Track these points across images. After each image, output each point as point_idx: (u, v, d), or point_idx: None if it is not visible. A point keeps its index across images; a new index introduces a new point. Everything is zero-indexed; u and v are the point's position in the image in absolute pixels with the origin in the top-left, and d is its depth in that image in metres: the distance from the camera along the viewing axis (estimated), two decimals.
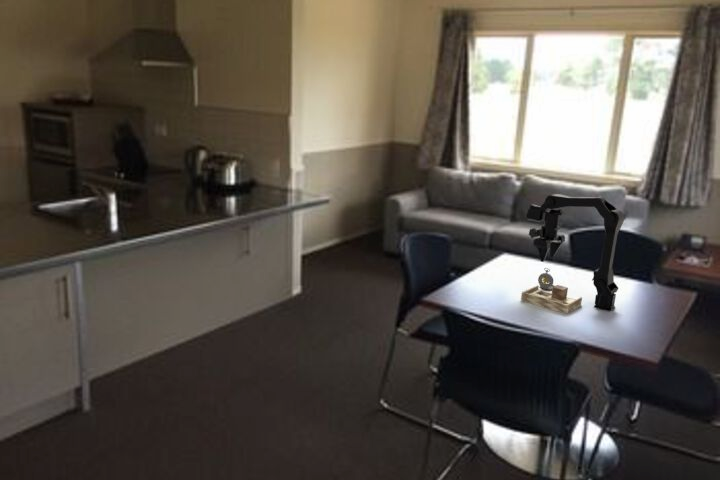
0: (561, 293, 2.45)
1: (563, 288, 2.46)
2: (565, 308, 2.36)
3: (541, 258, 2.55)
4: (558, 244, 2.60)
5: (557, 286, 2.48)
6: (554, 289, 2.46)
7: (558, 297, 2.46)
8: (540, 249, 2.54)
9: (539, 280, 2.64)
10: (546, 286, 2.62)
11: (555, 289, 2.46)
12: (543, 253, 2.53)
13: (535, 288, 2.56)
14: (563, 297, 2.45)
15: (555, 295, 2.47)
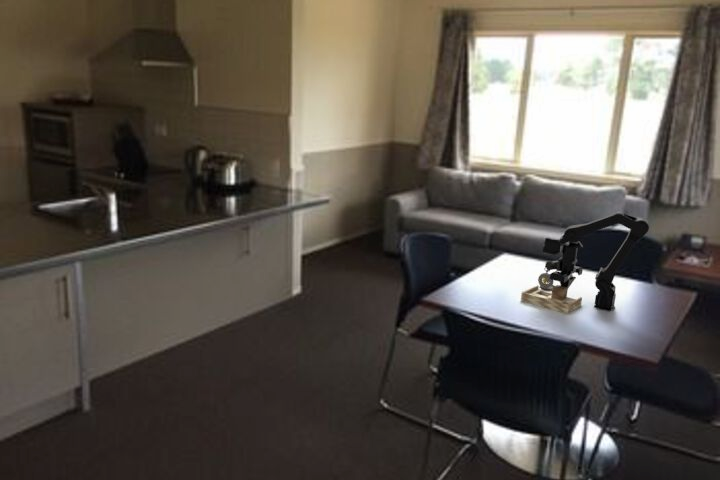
0: (561, 293, 2.45)
1: (563, 288, 2.46)
2: (565, 308, 2.36)
3: None
4: None
5: (557, 286, 2.48)
6: (554, 289, 2.46)
7: (558, 297, 2.46)
8: None
9: (539, 280, 2.64)
10: (546, 286, 2.62)
11: (555, 289, 2.46)
12: (565, 285, 2.48)
13: (535, 288, 2.56)
14: (562, 297, 2.45)
15: (555, 295, 2.47)
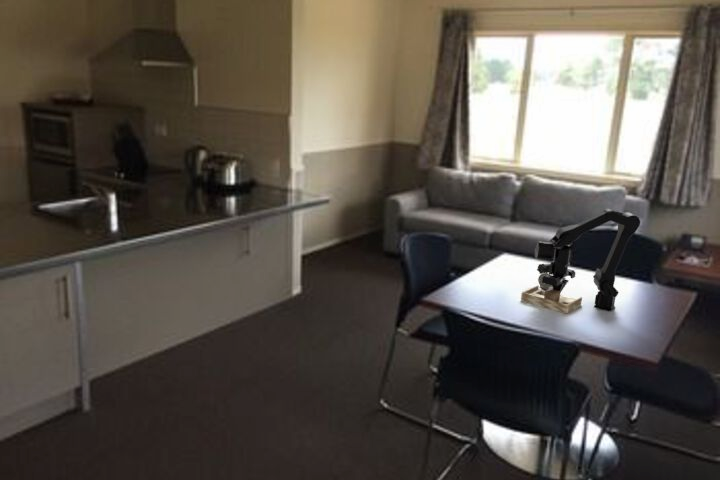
0: (553, 297, 2.39)
1: (555, 292, 2.41)
2: (565, 308, 2.36)
3: None
4: (563, 282, 2.43)
5: (549, 290, 2.43)
6: (546, 293, 2.41)
7: None
8: None
9: (539, 280, 2.64)
10: (546, 286, 2.62)
11: (547, 293, 2.41)
12: (557, 288, 2.43)
13: (535, 288, 2.56)
14: None
15: None
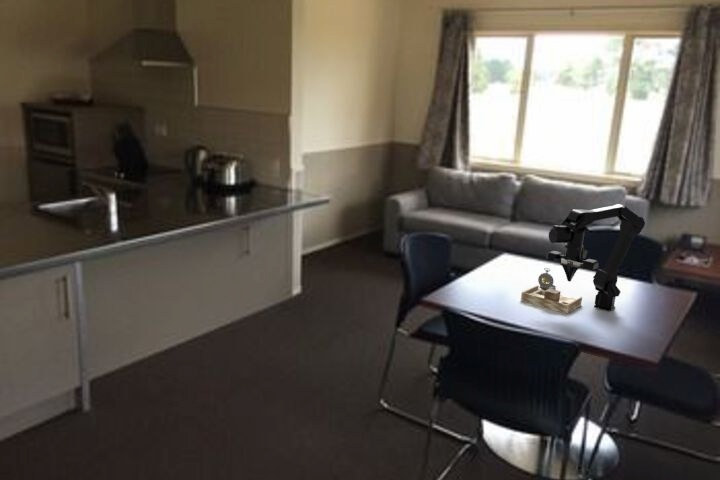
0: (553, 297, 2.39)
1: (555, 292, 2.41)
2: (565, 308, 2.36)
3: None
4: None
5: (549, 290, 2.43)
6: (546, 293, 2.41)
7: None
8: None
9: (539, 280, 2.64)
10: (546, 286, 2.62)
11: (547, 293, 2.41)
12: None
13: (535, 288, 2.56)
14: None
15: None
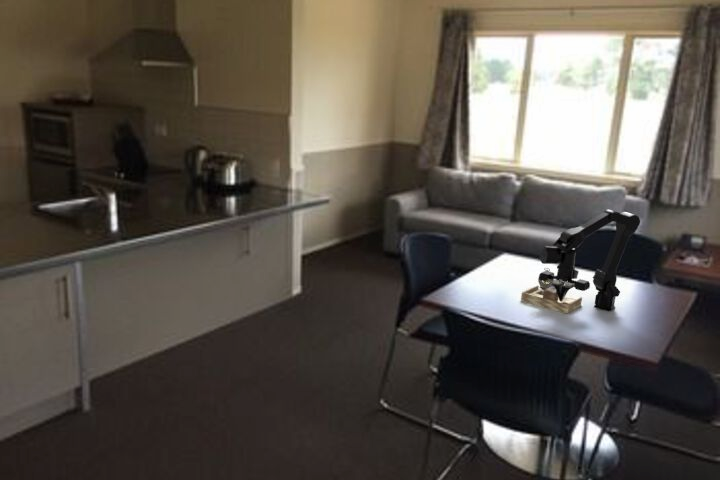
0: (552, 296, 2.40)
1: (554, 291, 2.41)
2: (565, 308, 2.36)
3: None
4: None
5: (548, 289, 2.43)
6: (545, 292, 2.42)
7: None
8: None
9: (539, 280, 2.64)
10: (546, 286, 2.62)
11: (546, 292, 2.41)
12: None
13: (535, 288, 2.56)
14: None
15: None
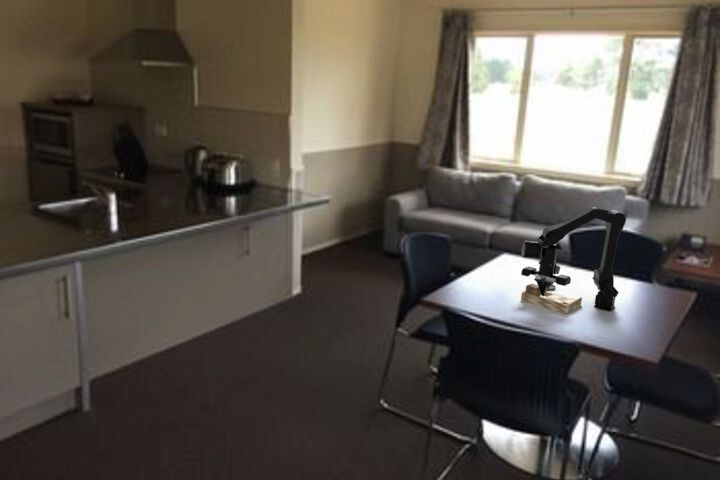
0: (534, 291, 2.45)
1: (536, 286, 2.46)
2: (565, 308, 2.36)
3: None
4: None
5: (531, 284, 2.48)
6: (527, 287, 2.46)
7: None
8: None
9: None
10: None
11: (528, 287, 2.46)
12: None
13: None
14: None
15: None
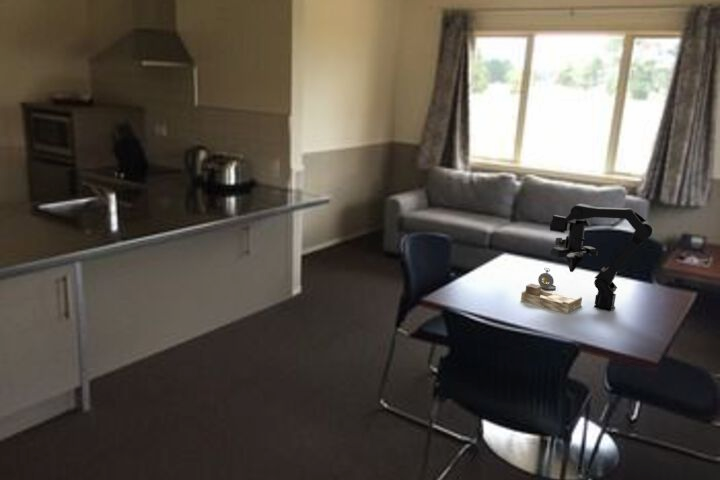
0: (534, 291, 2.45)
1: (536, 286, 2.46)
2: (565, 308, 2.36)
3: (569, 268, 2.50)
4: (577, 258, 2.47)
5: (531, 284, 2.48)
6: (527, 287, 2.46)
7: None
8: (568, 258, 2.49)
9: (539, 280, 2.64)
10: (546, 286, 2.62)
11: (528, 287, 2.46)
12: (570, 263, 2.48)
13: None
14: None
15: None
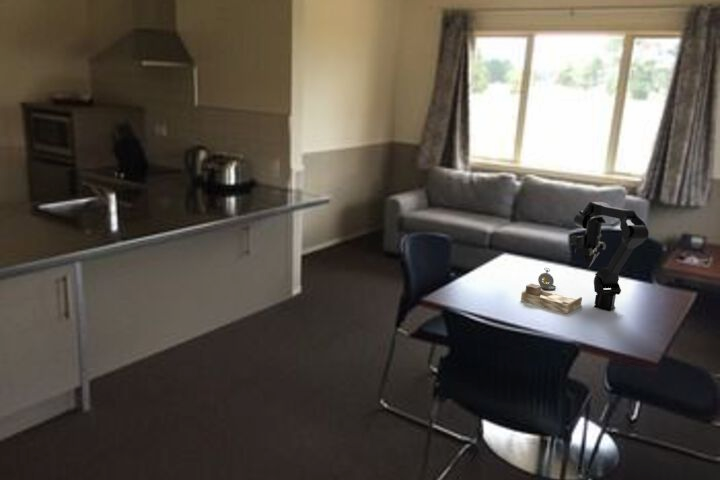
0: (534, 291, 2.45)
1: (536, 286, 2.46)
2: (565, 308, 2.36)
3: (587, 264, 2.55)
4: None
5: (531, 284, 2.48)
6: (527, 287, 2.46)
7: None
8: (586, 255, 2.54)
9: (539, 280, 2.64)
10: (546, 286, 2.62)
11: (528, 287, 2.46)
12: (589, 259, 2.53)
13: None
14: None
15: None
